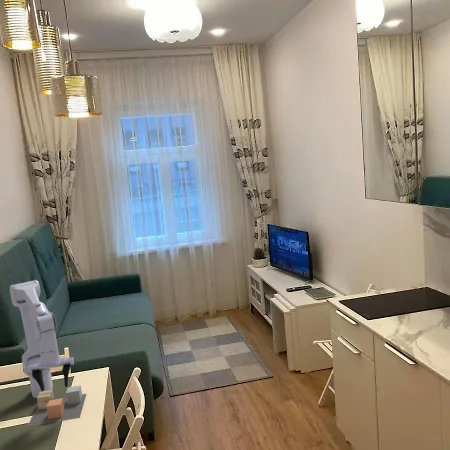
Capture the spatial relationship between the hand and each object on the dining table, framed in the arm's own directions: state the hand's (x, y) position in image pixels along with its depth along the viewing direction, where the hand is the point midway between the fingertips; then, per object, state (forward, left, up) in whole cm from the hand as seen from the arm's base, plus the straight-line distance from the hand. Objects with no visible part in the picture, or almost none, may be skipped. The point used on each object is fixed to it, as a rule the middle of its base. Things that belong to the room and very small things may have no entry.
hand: (54, 388), depth 164 cm
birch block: (-9, -6, -10) cm, 15 cm away
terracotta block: (-1, -1, -10) cm, 10 cm away
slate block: (-9, +4, -10) cm, 14 cm away
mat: (-5, -1, -10) cm, 11 cm away
